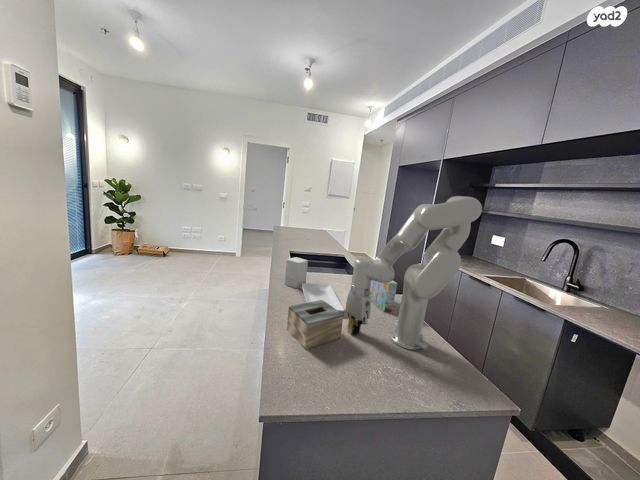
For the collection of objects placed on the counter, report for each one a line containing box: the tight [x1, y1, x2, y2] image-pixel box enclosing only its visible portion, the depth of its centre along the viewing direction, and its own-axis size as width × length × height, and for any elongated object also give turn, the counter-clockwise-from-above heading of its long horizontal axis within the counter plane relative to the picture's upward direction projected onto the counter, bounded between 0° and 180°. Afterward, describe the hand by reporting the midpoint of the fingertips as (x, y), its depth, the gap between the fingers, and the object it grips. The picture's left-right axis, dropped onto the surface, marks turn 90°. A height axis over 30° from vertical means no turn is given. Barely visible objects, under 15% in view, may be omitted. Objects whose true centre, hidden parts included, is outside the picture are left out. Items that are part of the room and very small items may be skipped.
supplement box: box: [284, 256, 309, 289], centre depth 150 cm, size 9×9×15 cm
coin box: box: [286, 300, 344, 350], centre depth 103 cm, size 14×16×10 cm
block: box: [347, 318, 362, 336], centre depth 108 cm, size 2×5×6 cm, turn 126°
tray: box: [301, 282, 346, 313], centre depth 134 cm, size 17×31×4 cm, turn 11°
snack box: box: [370, 279, 399, 313], centre depth 139 cm, size 21×6×15 cm, turn 22°
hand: (353, 331), depth 108 cm, fingers closed on block, 1 cm apart
